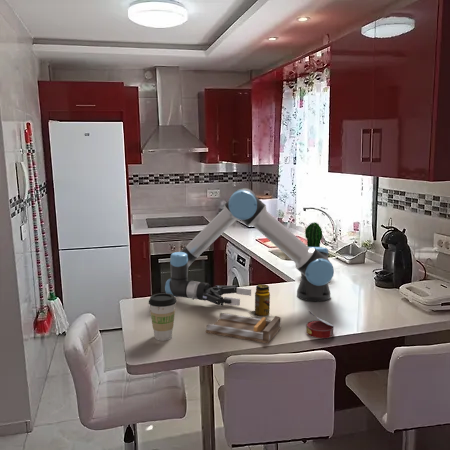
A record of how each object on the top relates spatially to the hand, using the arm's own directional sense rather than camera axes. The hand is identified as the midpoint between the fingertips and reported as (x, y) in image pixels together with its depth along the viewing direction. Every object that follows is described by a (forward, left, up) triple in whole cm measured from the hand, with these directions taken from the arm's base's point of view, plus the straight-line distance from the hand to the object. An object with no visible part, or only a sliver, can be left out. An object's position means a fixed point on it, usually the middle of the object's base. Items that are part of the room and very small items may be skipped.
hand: (245, 297), depth 185 cm
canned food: (-29, +17, -7) cm, 35 cm away
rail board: (-1, +19, -6) cm, 20 cm away
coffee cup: (+27, +29, -7) cm, 40 cm away
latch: (-7, +21, -5) cm, 23 cm away
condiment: (-6, +1, -7) cm, 9 cm away
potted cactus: (-30, -57, -7) cm, 64 cm away
